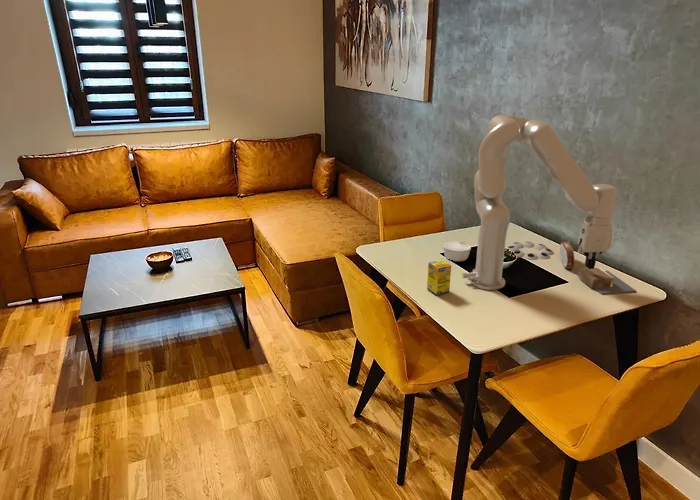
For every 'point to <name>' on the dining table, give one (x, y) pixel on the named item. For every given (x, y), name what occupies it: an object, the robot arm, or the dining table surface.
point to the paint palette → (540, 247)
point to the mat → (615, 287)
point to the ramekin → (456, 250)
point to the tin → (567, 255)
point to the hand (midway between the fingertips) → (589, 267)
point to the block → (596, 278)
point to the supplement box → (439, 277)
